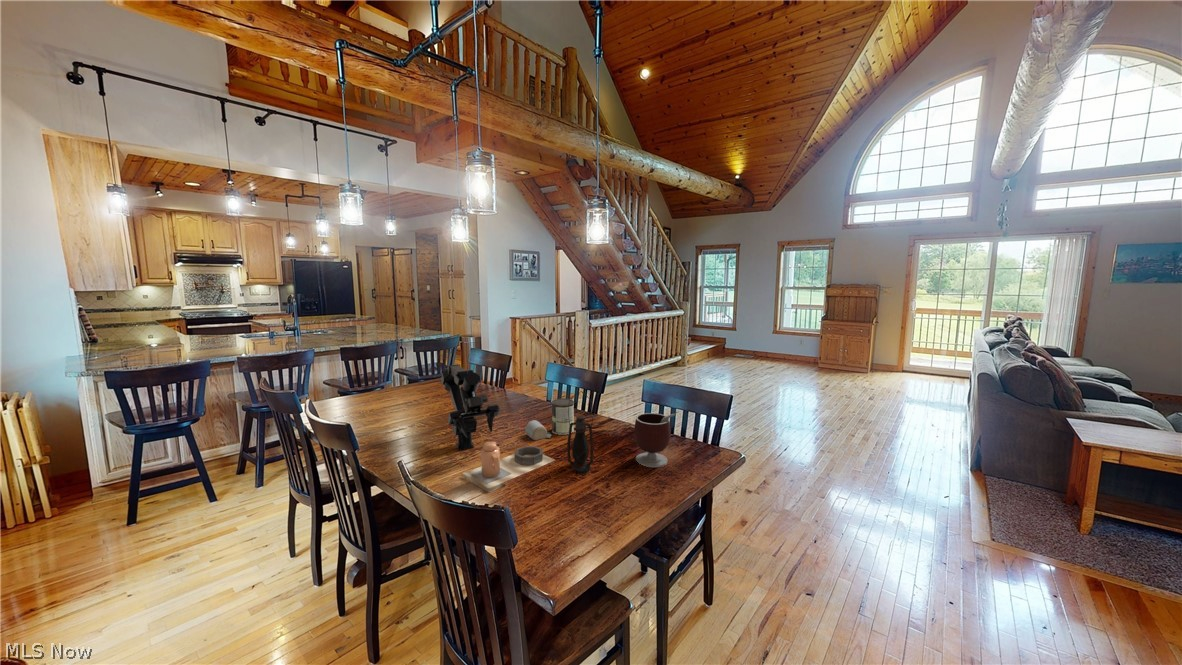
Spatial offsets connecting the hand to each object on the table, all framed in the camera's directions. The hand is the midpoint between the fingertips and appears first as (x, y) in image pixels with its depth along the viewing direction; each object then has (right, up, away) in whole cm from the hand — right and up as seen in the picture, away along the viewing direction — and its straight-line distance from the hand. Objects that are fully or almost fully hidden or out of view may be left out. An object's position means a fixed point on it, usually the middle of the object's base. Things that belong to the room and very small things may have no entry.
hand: (479, 434), depth 159 cm
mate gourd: (+66, -12, +7) cm, 68 cm away
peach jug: (+7, -12, -9) cm, 17 cm away
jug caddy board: (+12, -13, -2) cm, 18 cm away
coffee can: (+29, -8, +38) cm, 48 cm away
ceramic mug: (+19, -9, +29) cm, 36 cm away
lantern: (+38, -13, -1) cm, 40 cm away
